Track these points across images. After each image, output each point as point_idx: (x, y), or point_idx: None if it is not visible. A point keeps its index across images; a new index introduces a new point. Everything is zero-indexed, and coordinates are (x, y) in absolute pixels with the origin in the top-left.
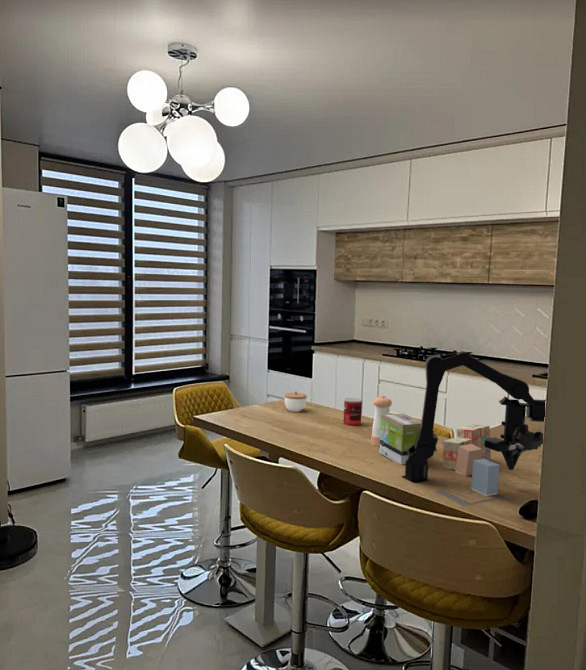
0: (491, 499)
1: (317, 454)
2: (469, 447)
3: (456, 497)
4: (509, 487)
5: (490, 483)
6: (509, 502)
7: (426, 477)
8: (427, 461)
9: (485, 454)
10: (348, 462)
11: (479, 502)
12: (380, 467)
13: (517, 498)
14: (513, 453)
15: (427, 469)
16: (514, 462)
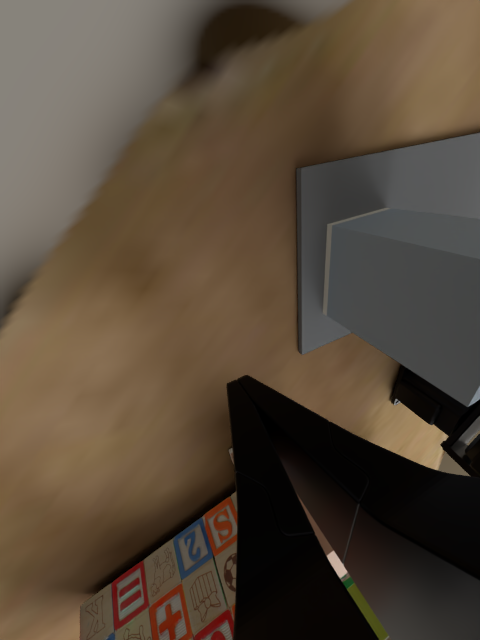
0: (400, 160)
1: (428, 461)
2: (340, 563)
3: (469, 217)
4: (184, 330)
5: (431, 221)
6: (342, 103)
7: (407, 378)
8: (460, 414)
9: (120, 617)
10: (425, 441)
11: (463, 137)
12: (405, 432)
13: (254, 153)
14: (473, 495)
15: (427, 397)
16: (264, 428)
